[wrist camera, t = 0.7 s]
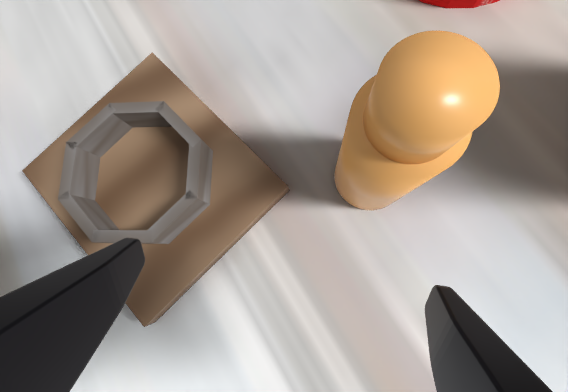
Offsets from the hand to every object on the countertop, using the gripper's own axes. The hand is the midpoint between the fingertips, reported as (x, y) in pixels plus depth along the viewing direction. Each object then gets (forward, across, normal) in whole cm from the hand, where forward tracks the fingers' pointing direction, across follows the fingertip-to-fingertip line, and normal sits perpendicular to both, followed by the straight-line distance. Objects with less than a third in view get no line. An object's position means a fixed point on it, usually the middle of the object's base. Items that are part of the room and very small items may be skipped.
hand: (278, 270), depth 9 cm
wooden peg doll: (+15, -4, +4) cm, 16 cm away
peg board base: (+13, +12, +6) cm, 19 cm away
